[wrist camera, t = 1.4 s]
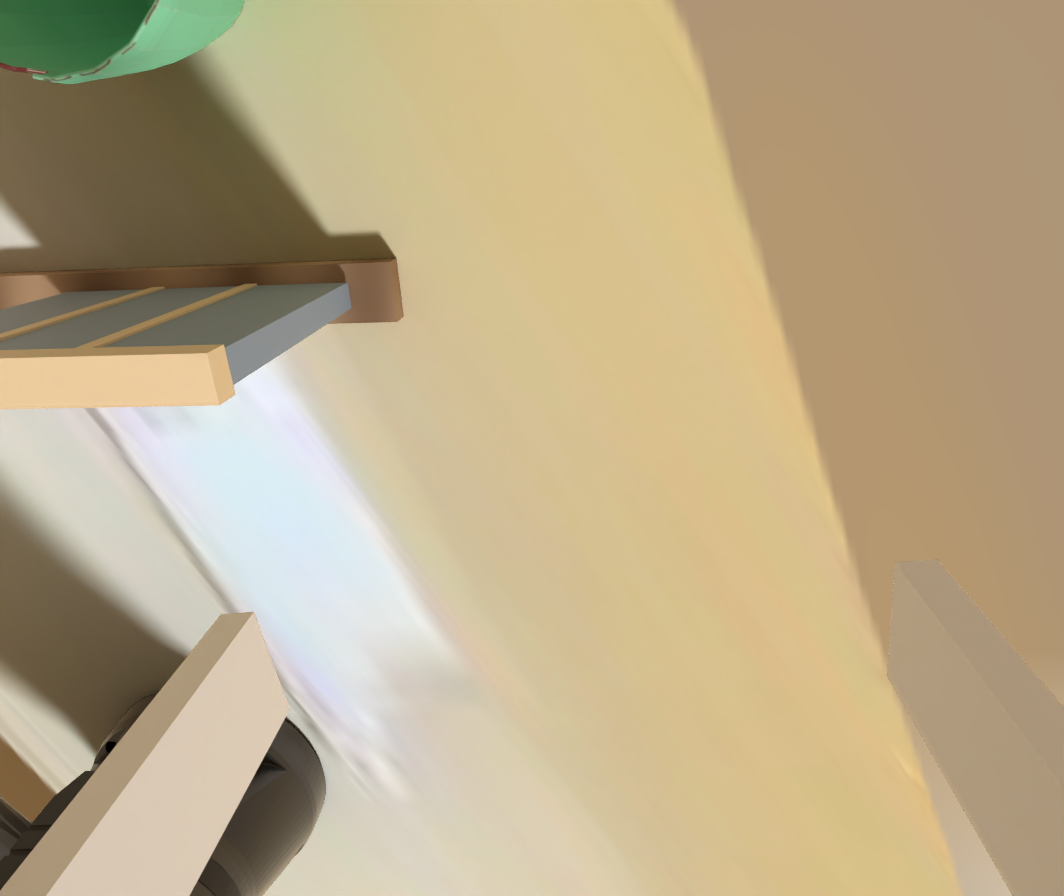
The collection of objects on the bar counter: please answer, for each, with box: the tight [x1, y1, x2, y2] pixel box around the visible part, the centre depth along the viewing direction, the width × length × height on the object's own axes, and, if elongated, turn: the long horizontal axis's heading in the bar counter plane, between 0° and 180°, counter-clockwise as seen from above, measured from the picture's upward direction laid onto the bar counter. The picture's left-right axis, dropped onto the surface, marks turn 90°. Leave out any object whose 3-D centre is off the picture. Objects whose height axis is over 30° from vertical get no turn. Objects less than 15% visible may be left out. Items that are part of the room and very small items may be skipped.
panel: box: [0, 282, 351, 409], centre depth 27 cm, size 14×2×13 cm, turn 93°
